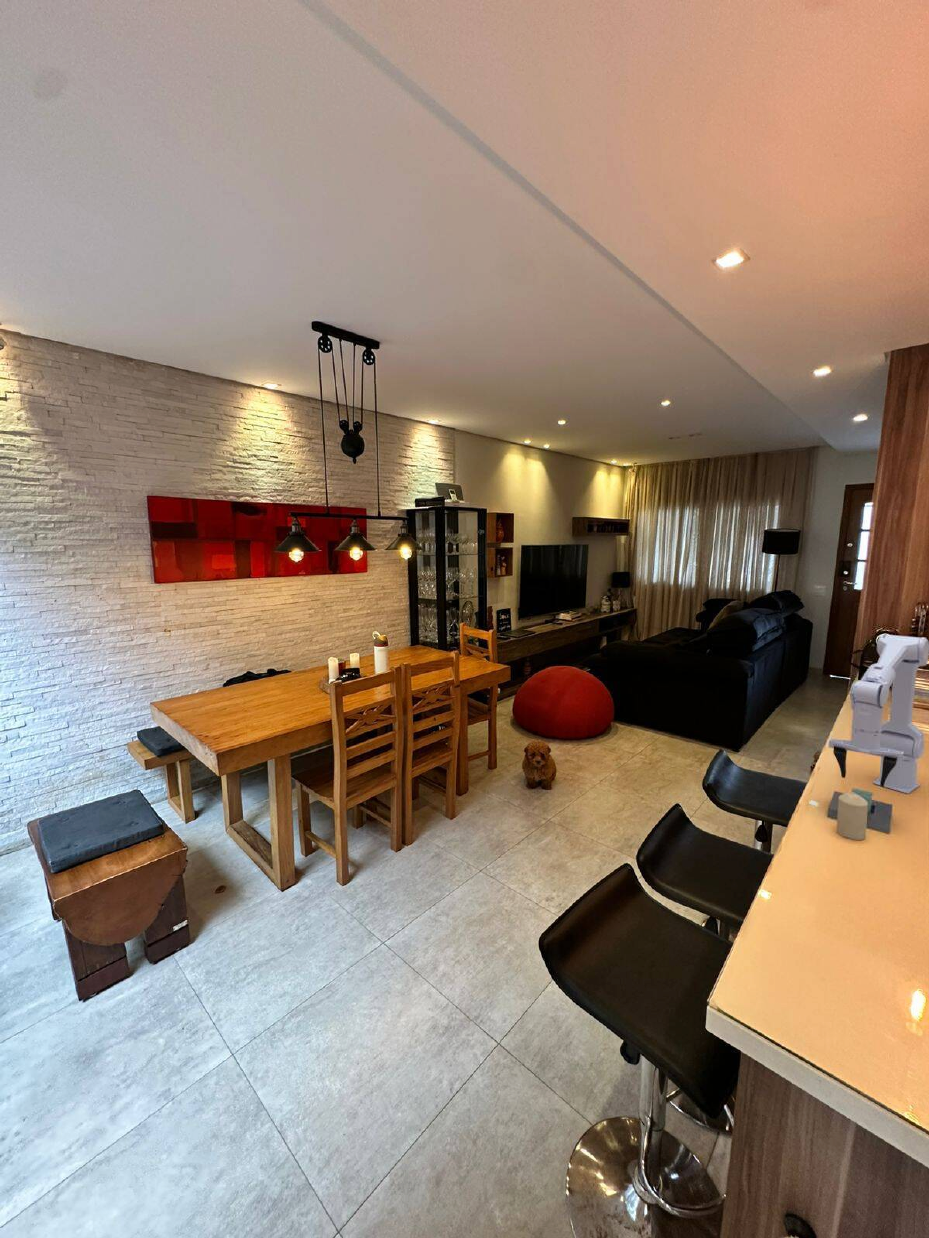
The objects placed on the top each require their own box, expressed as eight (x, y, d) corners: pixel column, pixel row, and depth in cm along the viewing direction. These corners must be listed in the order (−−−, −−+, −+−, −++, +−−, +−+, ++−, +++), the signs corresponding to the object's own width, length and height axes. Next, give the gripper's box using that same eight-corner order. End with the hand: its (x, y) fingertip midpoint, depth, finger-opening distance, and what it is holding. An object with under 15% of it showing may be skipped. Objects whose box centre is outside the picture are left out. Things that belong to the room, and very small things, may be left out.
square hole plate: (833, 799, 136) (834, 790, 136) (891, 813, 128) (892, 804, 128) (827, 817, 127) (828, 807, 127) (889, 833, 119) (890, 823, 119)
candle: (870, 841, 116) (873, 800, 115) (844, 839, 117) (846, 799, 116) (857, 828, 122) (860, 789, 120) (831, 827, 123) (834, 788, 122)
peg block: (850, 809, 131) (852, 788, 130) (870, 814, 128) (872, 792, 127) (849, 815, 128) (850, 793, 127) (869, 821, 125) (870, 798, 124)
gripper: (828, 727, 127) (825, 778, 128) (904, 739, 117) (899, 794, 119) (832, 719, 132) (828, 769, 134) (905, 731, 122) (900, 784, 124)
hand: (862, 780), depth 126 cm, fingers open, 7 cm apart
